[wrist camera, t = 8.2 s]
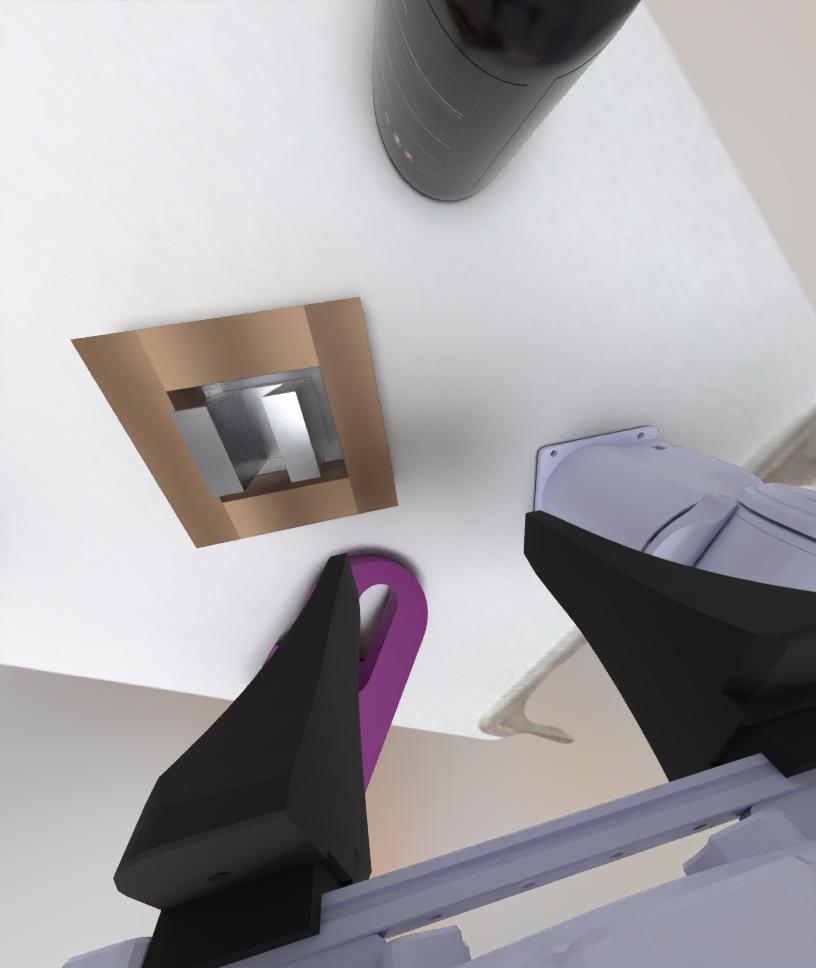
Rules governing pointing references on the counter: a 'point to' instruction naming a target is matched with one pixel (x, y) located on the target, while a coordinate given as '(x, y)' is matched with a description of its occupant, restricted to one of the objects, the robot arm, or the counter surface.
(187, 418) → the bracket
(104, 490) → the counter surface
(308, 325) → the well block
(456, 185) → the supplement bottle
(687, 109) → the counter surface
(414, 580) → the mounting bracket
